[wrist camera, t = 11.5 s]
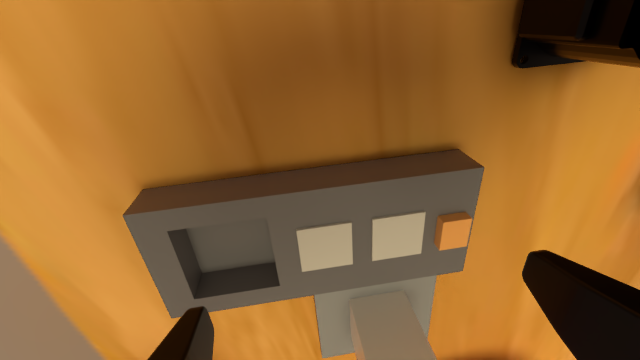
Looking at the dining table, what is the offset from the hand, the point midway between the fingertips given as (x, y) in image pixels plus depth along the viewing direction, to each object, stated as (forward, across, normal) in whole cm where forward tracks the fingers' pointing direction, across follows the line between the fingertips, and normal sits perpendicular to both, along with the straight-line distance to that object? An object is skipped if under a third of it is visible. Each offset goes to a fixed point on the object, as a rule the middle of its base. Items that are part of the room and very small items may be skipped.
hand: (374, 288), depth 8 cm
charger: (+12, -4, +18) cm, 22 cm away
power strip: (+14, +1, +7) cm, 15 cm away
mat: (+13, -4, +18) cm, 23 cm away
